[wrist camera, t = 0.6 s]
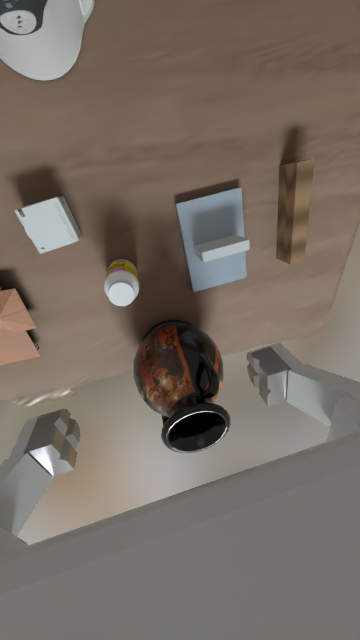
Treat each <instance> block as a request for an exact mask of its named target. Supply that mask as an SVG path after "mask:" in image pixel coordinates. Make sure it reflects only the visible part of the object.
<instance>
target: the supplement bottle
mask: <svg viewBox="0 0 360 640" xmlns="http://www.w3.org/2000/svg"><path fill="white" fill-rule="evenodd" d="M104 290H105V293H106V295H107V296H108V297H109V299H110V301H111V302H112V303H113V304H115V305H117V306H126V305H129V304H130V303H131V302H132V301H133V300H134V299H135V298H136V296H137V295H138V292H139V281H138V273H137V269H136V267H135V265H134V264H133V263H132V262H130V261H128V260H125V259H118V260H115V261H113V262H112V263H111V264H110V266H109V268H108V271H107V274H106V278H105V282H104Z"/></svg>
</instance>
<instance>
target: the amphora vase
mask: <svg viewBox="0 0 360 640" xmlns="http://www.w3.org/2000/svg"><path fill="white" fill-rule="evenodd" d="M134 380H135V383H136V386H137V388H138V391H139V394H140V395H141V397H142V398H143V400H144V401H145V402H146V403H147V404H148V406H149V407H150V408H151V409H153V410H154V411H156V412H158V413H160V414H161V415H162V419H163V425H164V426H163V428H162V434H161V437H162V440H163V443H164V444H165V445H166V446H167V447H168V448H169V449H171V450H173V451H175V452H180V453H192V452H198V451H201V450H205V449H207V448H209V447H211V446H213V445H214V444H216V443H217V442H219V441H220V440H221V439H222V438H223V437H224V436H225V434H226V433H227V432H228V430H229V427H230V416H229V414H228V412H227V411H226V410H225V409H224V408H223V407H222V406H219V405H217V404H213V403H214V401H215V399H216V398H217V396H218V394H219V392H220V390H221V386H222V382H223V362H222V358H221V355H220V352H219V350H218V348H217V346H216V344H215V343H214V341H213V340H212V339H211V338H210V337H209V336H208V335H207V334H206V333H205V332H203V331H201V330H199V329H197V328H196V327H193V326H192V325H191V324H189V323H187V322H185V321H181V320H168V321H164V322H161V323H159V324H157V325H155V326H154V327H152V328H151V329H150V330H149V331H148V332H147V334H146V335H145V337H144V339H143V342H142V344H141V345H140V347H139V348H138V350H137V352H136V355H135V358H134Z"/></svg>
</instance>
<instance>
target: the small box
mask: <svg viewBox="0 0 360 640" xmlns="http://www.w3.org/2000/svg"><path fill="white" fill-rule="evenodd" d="M14 211H15V213H16V215H17V216H18V218H19V220H20V221H21V223H22V225H23V226H24V228H25V231H26V233H27V235H28V236H29V237H30V238H31V240H32V241H33V243H34V245H35V246H36V248H37V250H38V251H39V253H40V254H42V253H44V252H47V251H50V250H53V249H56V248H59V247H62V246H65V245H68V244H71V243H74V242H77V241H79V240H80V239H81V238H82V237H83V236H82V234H81V232H80V230H79V228H78V226H77V224H76V222H75V220H74V218H73V215H72V213H71V211H70V209H69V207H68V205H67V203H66V200H65V198H64V197H55V198H52V199H48V200H45V201H41V202H38V203H34V204H31V205H28V206H25V207H22V208H18V209H15V210H14Z"/></svg>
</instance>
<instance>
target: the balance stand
mask: <svg viewBox="0 0 360 640" xmlns="http://www.w3.org/2000/svg"><path fill="white" fill-rule="evenodd" d="M175 207H176V212H177V217H178V222H179V227H180V231H181V236H182V241H183V246H184V251H185V256H186V261H187V266H188V271H189V276H190V281H191V286H192V291H193V292H197V291H201V290H204V289H208V288H211V287H214V286H218V285H221V284H225V283H228V282H232V281H235V280H239V279H242V278H246V277H247V275H246V258H245V251H246V250H250V248H249V239H246V238H244V224H243V207H242V190H241V187H238V188H234V189H230V190H226V191H222V192H219V193H215V194H211V195H207V196H203V197H199V198H195V199H192V200H188V201H184V202H180V203H176V204H175Z"/></svg>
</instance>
